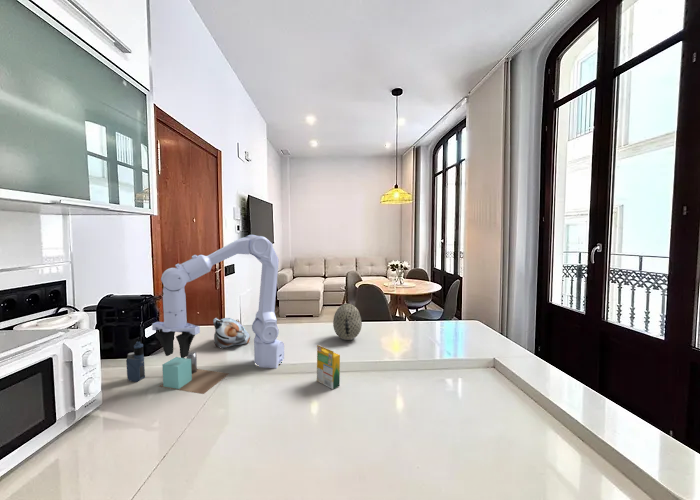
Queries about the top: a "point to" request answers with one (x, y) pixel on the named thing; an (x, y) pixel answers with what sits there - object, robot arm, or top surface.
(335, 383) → the crayon box
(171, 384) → the teal foam cube
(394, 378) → the top surface
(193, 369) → the metal post
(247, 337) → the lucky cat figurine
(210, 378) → the board
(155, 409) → the top surface
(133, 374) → the vaping device
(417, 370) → the top surface
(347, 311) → the decorative egg
